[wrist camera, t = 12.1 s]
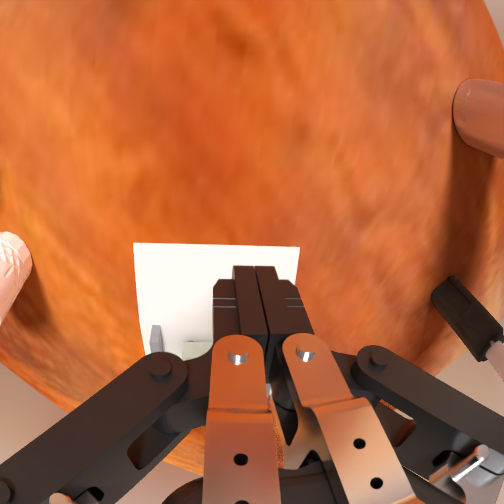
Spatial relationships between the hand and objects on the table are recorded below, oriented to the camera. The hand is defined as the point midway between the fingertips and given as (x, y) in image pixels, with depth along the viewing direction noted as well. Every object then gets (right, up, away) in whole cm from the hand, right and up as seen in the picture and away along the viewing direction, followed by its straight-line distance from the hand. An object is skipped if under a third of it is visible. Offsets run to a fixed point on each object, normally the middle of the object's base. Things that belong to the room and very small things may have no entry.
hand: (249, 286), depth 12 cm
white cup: (-29, +1, +18) cm, 35 cm away
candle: (+30, -5, +30) cm, 43 cm away
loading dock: (-5, -9, +27) cm, 29 cm away
